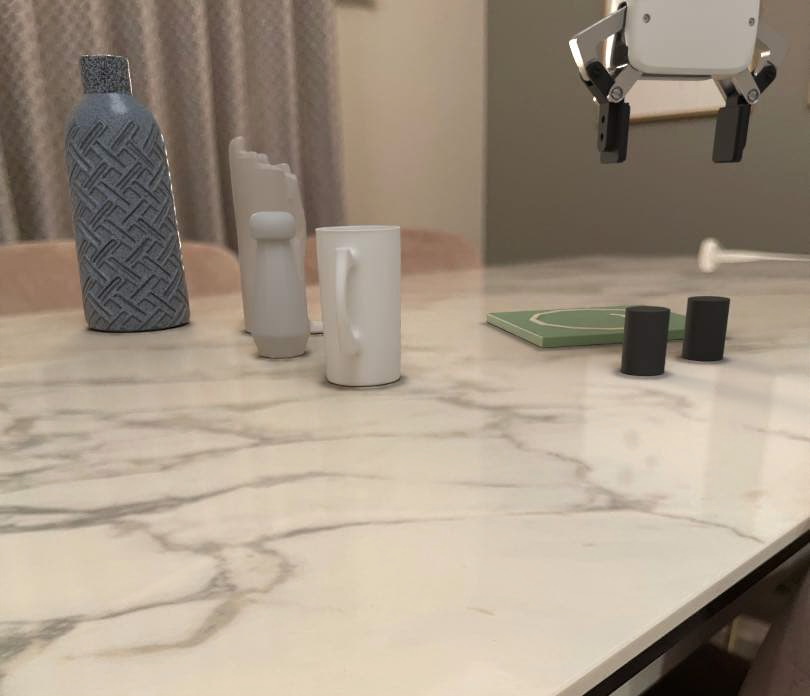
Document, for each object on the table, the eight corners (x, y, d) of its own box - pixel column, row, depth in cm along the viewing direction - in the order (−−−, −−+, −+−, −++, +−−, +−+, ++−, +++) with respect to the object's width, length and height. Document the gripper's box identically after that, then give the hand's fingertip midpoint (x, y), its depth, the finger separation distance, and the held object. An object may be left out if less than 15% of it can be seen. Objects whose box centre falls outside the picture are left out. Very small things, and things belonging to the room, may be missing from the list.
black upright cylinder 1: (651, 366, 74) (657, 304, 72) (672, 374, 71) (678, 310, 69) (613, 368, 73) (618, 307, 71) (632, 377, 70) (638, 312, 68)
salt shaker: (324, 351, 83) (316, 210, 78) (287, 361, 79) (276, 212, 74) (278, 347, 86) (268, 210, 81) (240, 356, 82) (226, 212, 77)
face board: (642, 313, 103) (643, 303, 103) (725, 336, 87) (727, 325, 86) (486, 321, 99) (486, 311, 99) (542, 347, 83) (542, 336, 83)
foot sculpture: (363, 332, 93) (356, 132, 86) (239, 335, 94) (220, 135, 86) (368, 322, 100) (361, 135, 92) (251, 324, 100) (235, 138, 93)
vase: (136, 336, 94) (95, 46, 83) (64, 328, 100) (18, 57, 89) (212, 320, 104) (184, 58, 93) (142, 315, 110) (109, 68, 99)
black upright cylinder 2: (709, 352, 79) (716, 295, 77) (731, 359, 76) (738, 299, 74) (674, 354, 78) (680, 297, 76) (694, 361, 75) (701, 301, 73)
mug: (336, 369, 75) (329, 225, 71) (410, 371, 74) (407, 225, 69) (301, 395, 66) (290, 233, 62) (385, 398, 65) (380, 232, 60)
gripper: (774, -84, 64) (741, 164, 71) (560, -97, 61) (547, 164, 67) (842, -116, 57) (799, 161, 64) (606, -133, 54) (586, 162, 60)
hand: (670, 162), depth 65 cm, fingers open, 9 cm apart
